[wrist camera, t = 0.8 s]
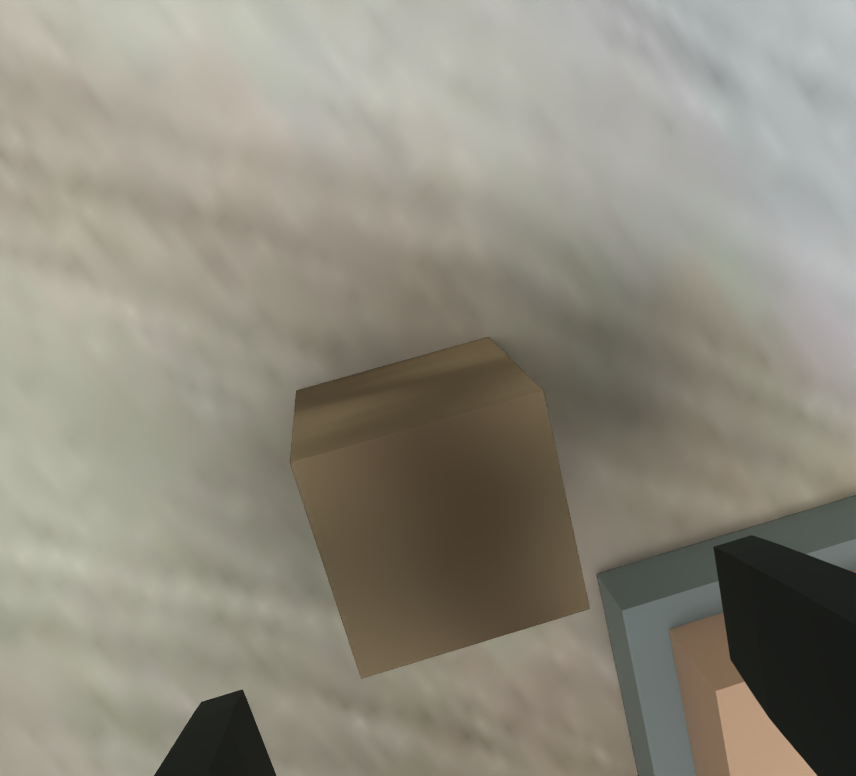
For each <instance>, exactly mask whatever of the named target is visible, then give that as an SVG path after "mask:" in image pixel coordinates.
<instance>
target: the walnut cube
mask: <svg viewBox="0 0 856 776" xmlns="http://www.w3.org/2000/svg"><path fill="white" fill-rule="evenodd" d="M290 465H291V468H292V471H293V474H294V477H295V480H296V483H297V486H298V489H299V492H300V495H301V498H302V501H303V504H304V507H305V510H306V513H307V516H308V519H309V522H310V525H311V528H312V531H313V534H314V538H315V541H316V544H317V547H318V550H319V553H320V556H321V559H322V562H323V565H324V568H325V571H326V574H327V577H328V580H329V583H330V586H331V589H332V592H333V595H334V598H335V601H336V604H337V607H338V610H339V613H340V616H341V619H342V622H343V625H344V628H345V631H346V634H347V637H348V640H349V644H350V647H351V650H352V653H353V656H354V659H355V662H356V665H357V668H358V671H359V674H360V677H361V679H362V678H365V677H369V676H372V675H375V674H378V673H382V672H385V671H388V670H392V669H395V668H398V667H401V666H405V665H408V664H411V663H414V662H418V661H421V660H424V659H428V658H431V657H434V656H437V655H441V654H444V653H447V652H451V651H454V650H457V649H460V648H464V647H467V646H470V645H473V644H477V643H480V642H483V641H487V640H490V639H493V638H496V637H500V636H503V635H506V634H509V633H513V632H516V631H519V630H523V629H526V628H529V627H532V626H536V625H539V624H542V623H545V622H549V621H552V620H555V619H559V618H562V617H565V616H568V615H572V614H575V613H578V612H581V611H585V610H588V609H590V607H589V602H588V598H587V593H586V588H585V584H584V579H583V574H582V569H581V565H580V560H579V555H578V551H577V546H576V541H575V537H574V532H573V527H572V523H571V518H570V513H569V509H568V504H567V499H566V494H565V490H564V485H563V480H562V476H561V471H560V466H559V462H558V457H557V452H556V448H555V443H554V438H553V433H552V429H551V424H550V419H549V415H548V410H547V405H546V401H545V396H544V391H543V390H542V389H541V388H540V387H539V386H538V385H537V384H536V383H535V382H534V381H533V380H532V379H531V378H530V377H529V376H528V375H527V374H526V373H525V372H524V371H523V370H522V369H521V368H520V367H519V366H518V365H517V364H516V363H515V362H514V361H513V360H512V359H511V358H510V357H509V356H508V355H507V354H505V353H504V352H503V351H502V350H501V349H500V348H499V347H498V346H497V345H496V344H495V343H494V342H493V341H492V340H491V339H490V338H489V337H486V338H483V339H479V340H476V341H472V342H468V343H465V344H461V345H458V346H454V347H451V348H447V349H443V350H440V351H436V352H433V353H429V354H426V355H422V356H418V357H415V358H411V359H408V360H404V361H401V362H397V363H393V364H390V365H386V366H383V367H379V368H376V369H372V370H368V371H365V372H361V373H358V374H354V375H351V376H347V377H343V378H340V379H336V380H333V381H329V382H326V383H322V384H318V385H315V386H311V387H308V388H304V389H301V390H297V391H296V399H295V411H294V422H293V433H292V444H291V456H290Z"/></svg>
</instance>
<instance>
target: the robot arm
mask: <svg viewBox="0 0 856 776" xmlns="http://www.w3.org/2000/svg"><path fill="white" fill-rule="evenodd" d="M713 548H714V555H715V561H716V568H717V575H718V581H719V588H720V594H721V601H722V608H723V614H724V621H725V627H726V634H727V641H728V647H729V654H730V660H731V661H732V663H733V664H734V666H735V667H736V669H737V671H738V672H739V674H740V675H741V677H742V678H743V680H744V681H745V683H746V685H747V686H748V688H749V689H750V691H751V692H752V694H753V695H754V697H755V698H756V700H757V701H758V703H759V704H760V706H761V707H762V709H763V710H764V711H765V713H766V714H767V716H768V717H769V719H770V720H771V721H772V722H773V724H774V725H775V726H776V727H777V728H778V730H779V731H780V732H781V733H782V734H783V736H784V737H785V738H786V739H787V740H788V742H789V743H790V744H791V745H792V746H793V747H794V749H795V750H796V751H797V752H798V753H799V755H800V756H801V757H802V758H803V759H804V760H805V762H806V763H807V764H808V765H809V766H810V768H811V769H812V770H813V771H814V772H815V773H816V775H817V776H856V573H855V572H852V571H849V570H847V569H844V568H841V567H839V566H836V565H833V564H831V563H828V562H825V561H823V560H820V559H817V558H815V557H812V556H809V555H807V554H804V553H801V552H799V551H796V550H793V549H791V548H788V547H785V546H783V545H780V544H777V543H774V542H771V541H769V540H766V539H763V538H759V537H756V536H753V535H750V536H747V537H744V538H740V539H737V540H734V541H731V542H727V543H724V544H721V545H717V546H714V547H713ZM154 776H276V774H275V771H274V768H273V766H272V763H271V761H270V758H269V756H268V753H267V750H266V748H265V745H264V743H263V740H262V738H261V735H260V732H259V730H258V727H257V725H256V722H255V720H254V717H253V714H252V712H251V709H250V707H249V704H248V702H247V699H246V696H245V694H244V691H243V690H239V691H236V692H233V693H230V694H226V695H223V696H220V697H216V698H213V699H210V700H206V701H203V702H201V703H200V705H199V706H198V708H197V709H196V711H195V712H194V714H193V715H192V717H191V718H190V720H189V721H188V723H187V725H186V726H185V728H184V729H183V731H182V732H181V734H180V736H179V737H178V739H177V740H176V742H175V744H174V745H173V747H172V748H171V750H170V751H169V753H168V755H167V756H166V758H165V759H164V761H163V762H162V764H161V766H160V767H159V769H158V770H157V772H156V773H155V775H154Z"/></svg>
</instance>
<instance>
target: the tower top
mask: <svg viewBox="0 0 856 776" xmlns="http://www.w3.org/2000/svg"><path fill="white" fill-rule="evenodd" d="M852 572H855V573H856V570H854V571H852ZM669 634H670V639H671V644H672V650H673V655H674V660H675V666H676V671H677V676H678V681H679V687H680V692H681V697H682V702H683V708H684V713H685V718H686V724H687V729H688V734H689V739H690V745H691V750H692V755H693V761H694V766H695V771H696V776H817V775H816V773H815V772H814V771H813V770H812V769H811V768H810V766H809V765H808V764H807V763H806V762H805V760H804V759H803V758H802V757H801V756H800V755H799V753H798V752H797V751H796V750H795V749H794V747H793V746H792V745H791V744H790V743H789V742H788V740H787V739H786V738H785V737H784V736H783V734H782V733H781V732H780V731H779V730H778V728H777V727H776V726H775V725H774V724H773V722H772V721H771V720H770V719H769V717H768V716H767V714H766V713H765V711H764V710H763V709H762V707H761V706H760V704H759V703H758V701H757V700H756V698H755V697H754V695H753V694H752V692H751V691H750V689H749V688H748V686H747V685H746V683H745V681H744V680H743V678H742V677H741V675H740V674H739V672H738V671H737V669H736V667H735V666H734V664H733V663H732V661H731V660H730V654H729V647H728V641H727V634H726V627H725V621H724V614H723V613H720V614H716V615H713V616H710V617H707V618H704V619H701V620H698V621H695V622H691V623H688V624H685V625H682V626H679V627H676V628H673V629H670V630H669Z"/></svg>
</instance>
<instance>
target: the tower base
mask: <svg viewBox="0 0 856 776" xmlns="http://www.w3.org/2000/svg"><path fill="white" fill-rule="evenodd" d="M750 535H753V536H756V537H759V538H763V539H766V540H769V541H771V542H774V543H777V544H780V545H783V546H785V547H788V548H791V549H793V550H796V551H799V552H801V553H804V554H807V555H809V556H812V557H815V558H817V559H820V560H823V561H825V562H828V563H831V564H833V565H836V566H839V567H841V568H844V569H847V570H849V571H854V570H856V495H855V496H852V497H849V498H845V499H842V500H839V501H835V502H832V503H829V504H825V505H822V506H819V507H816V508H812V509H809V510H806V511H802V512H799V513H796V514H792V515H789V516H786V517H783V518H779V519H776V520H773V521H769V522H766V523H763V524H760V525H756V526H753V527H750V528H746V529H743V530H740V531H736V532H733V533H730V534H727V535H723V536H720V537H717V538H713V539H710V540H707V541H704V542H700V543H697V544H694V545H690V546H687V547H684V548H680V549H677V550H674V551H671V552H667V553H664V554H661V555H657V556H654V557H651V558H647V559H644V560H641V561H638V562H634V563H631V564H628V565H624V566H621V567H618V568H615V569H611V570H608V571H605V572H601V573H598V574H597V579H598V584H599V588H600V593H601V598H602V603H603V608H604V612H605V617H606V622H607V627H608V632H609V637H610V641H611V646H612V651H613V656H614V661H615V666H616V670H617V675H618V680H619V685H620V690H621V694H622V699H623V704H624V709H625V714H626V719H627V723H628V728H629V733H630V738H631V743H632V748H633V752H634V757H635V762H636V767H637V772H638V776H696V771H695V766H694V761H693V755H692V750H691V745H690V739H689V734H688V729H687V724H686V718H685V713H684V708H683V702H682V697H681V692H680V687H679V681H678V676H677V671H676V666H675V660H674V655H673V650H672V644H671V639H670V634H669V630H670V629H673V628H676V627H679V626H682V625H685V624H688V623H691V622H695V621H698V620H701V619H704V618H707V617H710V616H713V615H716V614H720V613H723V608H722V601H721V594H720V588H719V581H718V575H717V568H716V561H715V555H714V548H713V547H714V546H717V545H721V544H724V543H727V542H731V541H734V540H737V539H740V538H744V537H747V536H750Z"/></svg>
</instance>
